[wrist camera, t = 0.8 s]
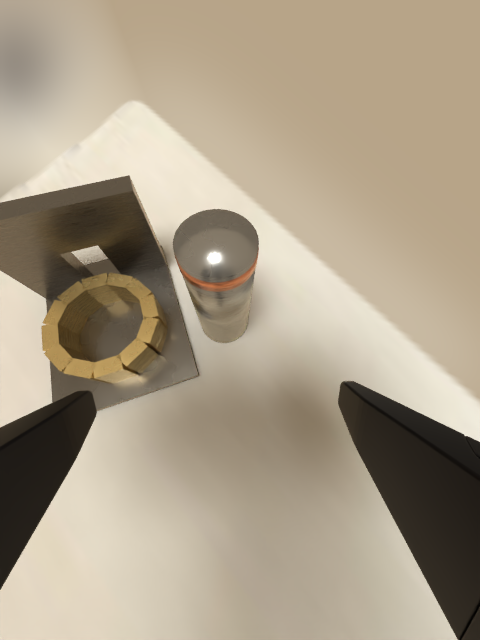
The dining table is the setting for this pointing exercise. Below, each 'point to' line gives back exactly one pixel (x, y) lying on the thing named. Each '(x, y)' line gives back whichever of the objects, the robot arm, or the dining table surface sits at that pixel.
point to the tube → (218, 269)
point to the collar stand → (98, 291)
